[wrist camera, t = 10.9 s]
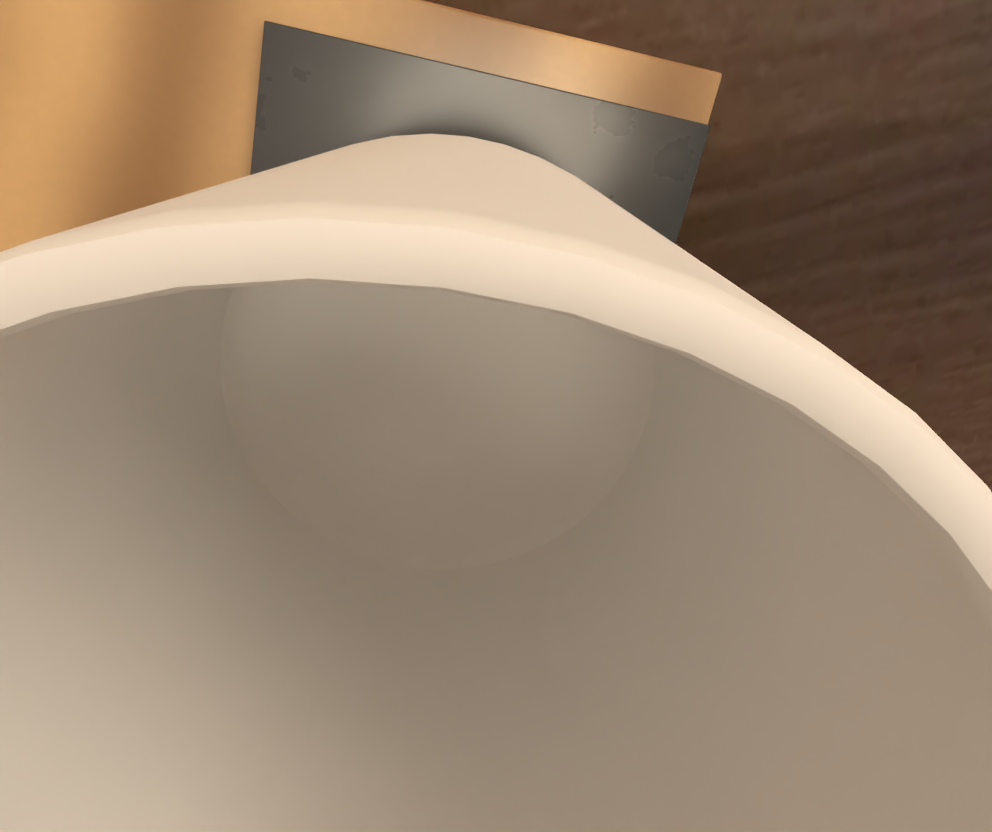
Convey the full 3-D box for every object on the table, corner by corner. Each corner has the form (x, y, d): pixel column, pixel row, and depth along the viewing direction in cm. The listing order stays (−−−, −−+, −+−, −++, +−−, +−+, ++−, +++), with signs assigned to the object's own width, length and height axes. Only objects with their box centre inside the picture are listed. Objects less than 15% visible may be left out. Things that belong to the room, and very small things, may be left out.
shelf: (656, 81, 21) (779, 65, 13) (525, 571, 27) (551, 782, 18) (-210, -126, 19) (-762, -314, 10) (-148, 460, 24) (-470, 644, 16)
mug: (634, 711, 17) (842, 1496, 7) (257, 716, 17) (-35, 1529, 7) (690, 132, 12) (1403, 212, 3) (175, 128, 12) (-890, 204, 3)
